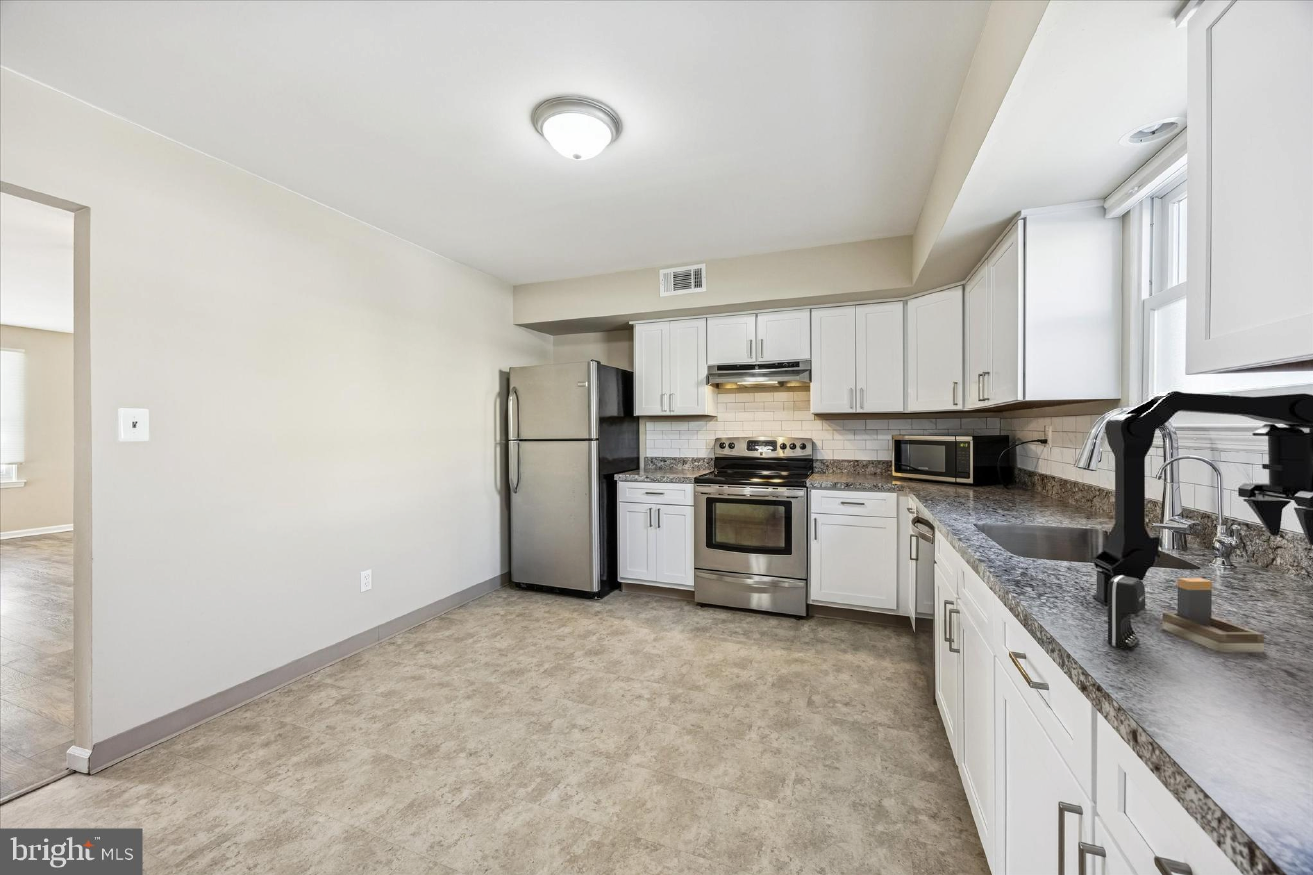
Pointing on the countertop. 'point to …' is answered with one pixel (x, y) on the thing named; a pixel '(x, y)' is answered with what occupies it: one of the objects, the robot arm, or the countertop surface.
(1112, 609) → the battery charger
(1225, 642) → the tray
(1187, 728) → the countertop surface
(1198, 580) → the fader lever
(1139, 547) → the robot arm
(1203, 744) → the countertop surface
